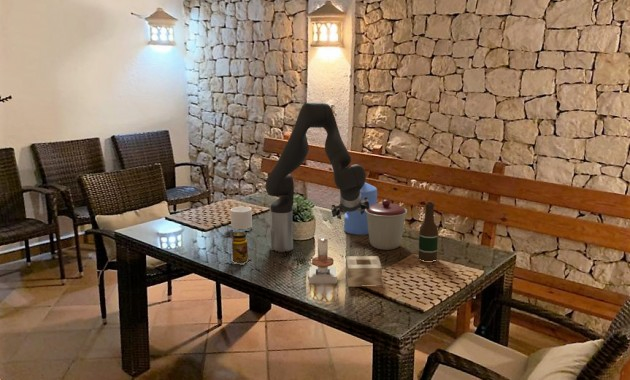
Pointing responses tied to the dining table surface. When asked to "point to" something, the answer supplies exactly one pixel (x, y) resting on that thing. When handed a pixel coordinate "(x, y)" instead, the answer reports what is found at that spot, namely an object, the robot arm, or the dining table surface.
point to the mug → (241, 217)
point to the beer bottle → (428, 235)
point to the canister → (385, 225)
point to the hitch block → (363, 270)
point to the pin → (322, 257)
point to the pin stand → (322, 276)
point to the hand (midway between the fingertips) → (350, 214)
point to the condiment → (239, 247)
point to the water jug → (354, 219)
